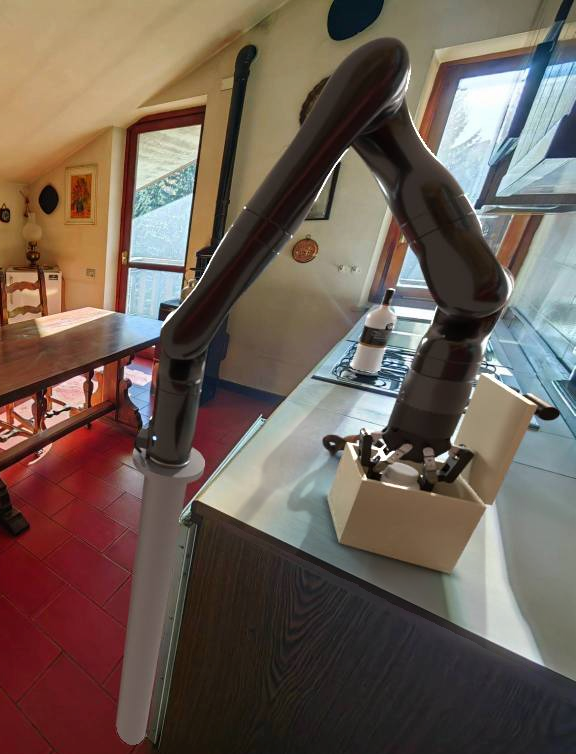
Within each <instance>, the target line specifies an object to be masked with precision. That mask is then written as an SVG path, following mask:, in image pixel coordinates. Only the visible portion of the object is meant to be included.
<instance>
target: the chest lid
mask: <svg viewBox="0 0 576 754" xmlns="http://www.w3.org/2000/svg"><path fill="white" fill-rule="evenodd" d="M506 385H507V384H504V383H503V382H501V381H500V380H499V379H497V378H495V377H494V376H492V375H490V374H489V373H484V372H480V374H479V376H478V380H477V383H476V385H475V387H474V390H473V393H472V396H471V397H470V400H469V402H468V405H467V407H466V411H465V413H464V416H463V418H462V421H461V424H460V426H459V429H458V430H457V433H456V437H455V439H454V442H453V444H455V445H459V444H464V445H466V446H467V447H468V448H469V449H470V450H471V452H472V453H473V454H474V457H473V458H472V459H471V461H470V462H469V463H468V465H467V466H466V467H465V468H464V470H463V471H462V472H461V473H460V476H461V477H462V478H463V479H464V481H465V482H466V483H467V484H468V486H469V487H470V488H471V489H472V490H473V492H474V493H475V494H476V495H477V497H478V498H479V499H480V500H481V501H482V503H483V504H484V505H487V506H493V505H494V502H495V500H496V498H497V496H498V493H499V491H500V489H501V487H502V484H503V482H504V480H505V479H506V477H507V474H508V472H509V469H510V467H511V465H512V463H513V461H514V458H515V456H516V454H517V452H518V450H519V448H520V445H521V443H522V441H523V439H524V438H525V434H526V433H527V431H528V428H529V426H530V424H531V422H532V419H533V418H534V416H536V418H539V419H540V420H542V421H546V422H551V421H554V420H557V419H558V418H559V417H560V415H561V411H560V409H558V408H557V407H555V406H554V405H552V404H550V403H549V402H547V401H545V400H544V399H543V398H540V397H539V396H537V395H535V394H534V393H525V394H524V393H523V394H521V393H517V392H516V391H514V390H512V389H511V388H509V387H508V386H509V385H508V386H506Z"/></svg>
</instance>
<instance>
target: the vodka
mask: <svg viewBox="0 0 576 754" xmlns="http://www.w3.org/2000/svg"><path fill="white" fill-rule="evenodd" d="M395 293H396V289H394V288H386V289H385V291H384V294H383V297H382V300H381V303H380V306H379V308H376V309H374V310H372V311H369V312H368V313H367V315H366V316H365V322H364V323H363V324H364V325H363V329H362V332H361V335H360V338H359V341H358V343H357V347H356V350H355V353H354V355H353V357H352V360H351V362H350V363H349V365H350V366H351V367H352V368H353V369H356V370H363V371H370V372H378V371H380V370H382V362H383V359H384V356H385V352H386V351H387V350H388V349H387V347H388V345H389V341H390V338H391V335H392V333H393V330H394V328H395V325H396V323H397V320H398V316H397V314H396V313H395V312H394V311H392V310H391V305H392V301H393V299H394V296H395ZM348 370H350V372H352V373H353V374H357V375H361V376H367V377H375V376H378V375H379V374H365V373H361V372H357V371H354V370H352V369H350V368H349V367H348ZM380 372H381V371H380Z"/></svg>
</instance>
